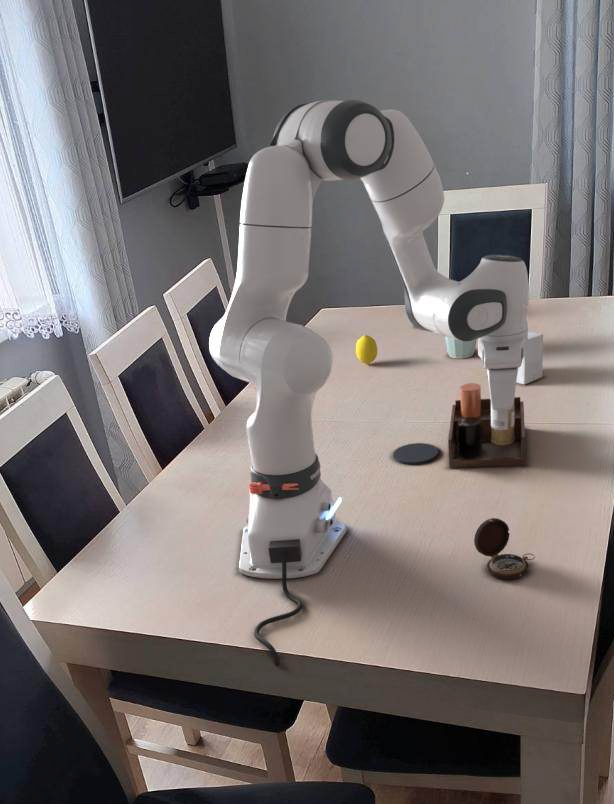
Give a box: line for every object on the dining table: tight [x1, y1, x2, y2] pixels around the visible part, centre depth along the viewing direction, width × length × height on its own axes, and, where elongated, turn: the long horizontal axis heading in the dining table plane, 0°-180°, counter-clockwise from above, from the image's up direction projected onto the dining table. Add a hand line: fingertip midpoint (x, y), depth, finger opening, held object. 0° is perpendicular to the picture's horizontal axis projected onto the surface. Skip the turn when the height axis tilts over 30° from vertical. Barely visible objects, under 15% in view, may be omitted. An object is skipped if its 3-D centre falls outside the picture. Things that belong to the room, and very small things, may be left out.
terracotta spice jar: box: [459, 382, 482, 418], centre depth 176 cm, size 4×4×6 cm
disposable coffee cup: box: [444, 336, 478, 360], centre depth 219 cm, size 11×11×15 cm
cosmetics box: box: [516, 330, 544, 385], centre depth 202 cm, size 10×6×10 cm, turn 34°
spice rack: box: [447, 396, 526, 469], centre depth 173 cm, size 18×14×7 cm
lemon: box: [355, 334, 378, 366], centre depth 226 cm, size 6×6×8 cm
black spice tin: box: [458, 417, 483, 459], centre depth 171 cm, size 4×4×7 cm
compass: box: [473, 517, 536, 580], centre depth 135 cm, size 8×8×7 cm
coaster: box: [392, 442, 439, 465], centre depth 176 cm, size 9×9×1 cm
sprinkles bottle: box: [490, 403, 515, 446], centre depth 166 cm, size 5×5×14 cm
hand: (502, 414), depth 167 cm, fingers closed on sprinkles bottle, 4 cm apart
